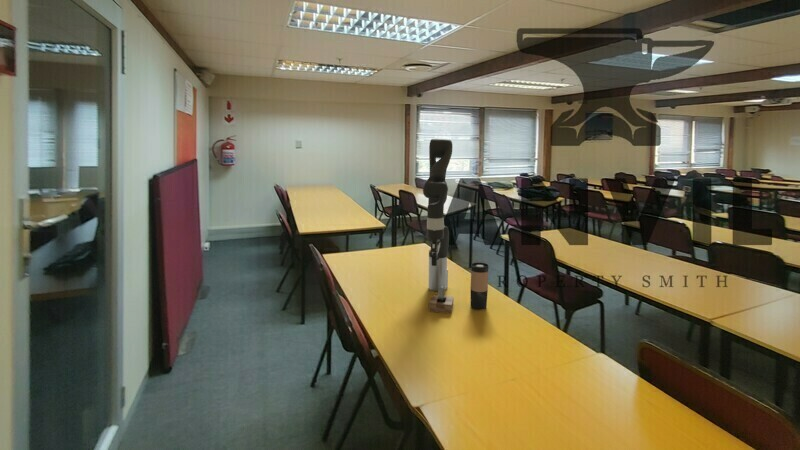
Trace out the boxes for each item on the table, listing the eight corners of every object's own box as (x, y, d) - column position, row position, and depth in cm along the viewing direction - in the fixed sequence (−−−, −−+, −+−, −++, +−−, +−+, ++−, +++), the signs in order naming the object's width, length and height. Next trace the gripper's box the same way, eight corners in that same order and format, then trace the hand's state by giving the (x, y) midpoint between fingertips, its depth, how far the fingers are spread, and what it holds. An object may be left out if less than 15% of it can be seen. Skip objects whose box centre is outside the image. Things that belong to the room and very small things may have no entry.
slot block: (432, 303, 192) (432, 295, 192) (453, 304, 190) (453, 296, 190) (428, 311, 183) (429, 303, 182) (451, 313, 181) (451, 304, 180)
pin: (440, 306, 189) (441, 285, 187) (445, 307, 187) (445, 286, 185) (436, 307, 187) (437, 286, 185) (441, 309, 185) (441, 288, 183)
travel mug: (488, 305, 189) (490, 263, 185) (484, 311, 183) (486, 268, 179) (472, 302, 193) (473, 261, 189) (467, 308, 186) (469, 266, 182)
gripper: (428, 223, 188) (428, 257, 192) (424, 230, 175) (424, 267, 178) (445, 224, 187) (445, 258, 190) (442, 231, 173) (442, 268, 177)
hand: (435, 262), depth 184 cm, fingers open, 8 cm apart
